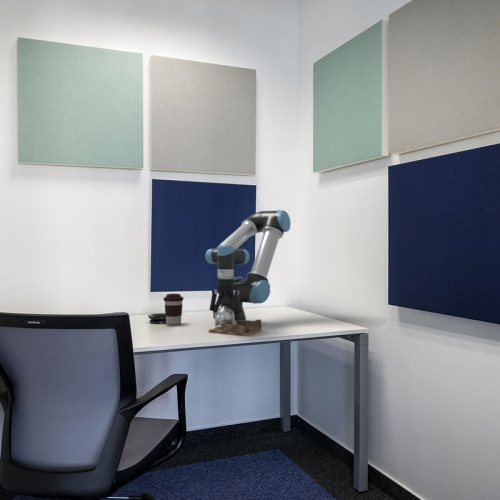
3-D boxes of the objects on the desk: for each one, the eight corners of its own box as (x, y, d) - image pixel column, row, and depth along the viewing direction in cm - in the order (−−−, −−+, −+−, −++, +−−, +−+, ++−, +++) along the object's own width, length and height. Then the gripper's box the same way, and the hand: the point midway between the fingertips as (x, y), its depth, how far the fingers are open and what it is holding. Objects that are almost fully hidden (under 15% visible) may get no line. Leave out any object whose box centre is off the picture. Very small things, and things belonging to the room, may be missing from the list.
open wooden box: (208, 332, 216) (208, 321, 216) (223, 327, 228) (223, 316, 228) (247, 336, 207) (247, 324, 207) (261, 330, 219) (261, 319, 219)
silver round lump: (213, 325, 223) (213, 304, 223) (233, 325, 225) (233, 304, 225) (217, 329, 214) (217, 307, 214) (237, 328, 217) (237, 306, 216)
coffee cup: (172, 321, 246) (172, 292, 245) (187, 323, 241) (187, 293, 240) (159, 324, 237) (159, 294, 237) (174, 326, 232) (174, 295, 232)
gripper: (201, 278, 221) (201, 326, 221) (242, 279, 211) (242, 329, 212) (210, 276, 228) (210, 323, 228) (249, 278, 218) (249, 327, 218)
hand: (225, 326), depth 220 cm, fingers closed on silver round lump, 9 cm apart
